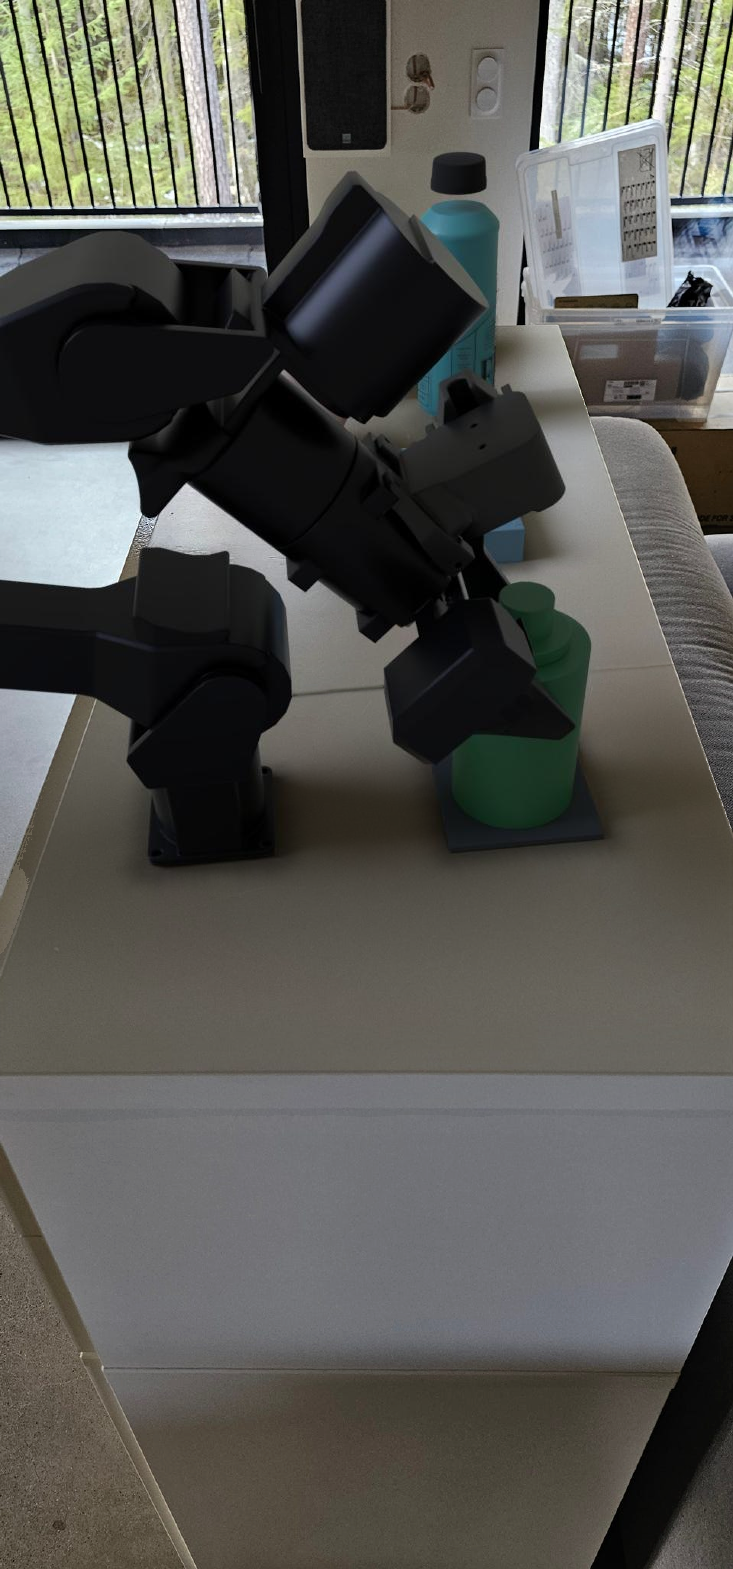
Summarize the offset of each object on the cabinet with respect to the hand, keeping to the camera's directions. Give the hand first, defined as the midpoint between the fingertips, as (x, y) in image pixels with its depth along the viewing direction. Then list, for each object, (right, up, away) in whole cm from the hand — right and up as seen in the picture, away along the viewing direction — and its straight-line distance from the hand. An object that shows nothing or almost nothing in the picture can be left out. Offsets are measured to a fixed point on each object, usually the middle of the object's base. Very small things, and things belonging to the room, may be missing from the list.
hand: (549, 679), depth 54 cm
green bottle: (-1, -5, +5) cm, 7 cm away
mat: (-1, -6, +5) cm, 8 cm away
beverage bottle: (-2, +26, +39) cm, 47 cm away
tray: (-5, +14, +26) cm, 30 cm away
